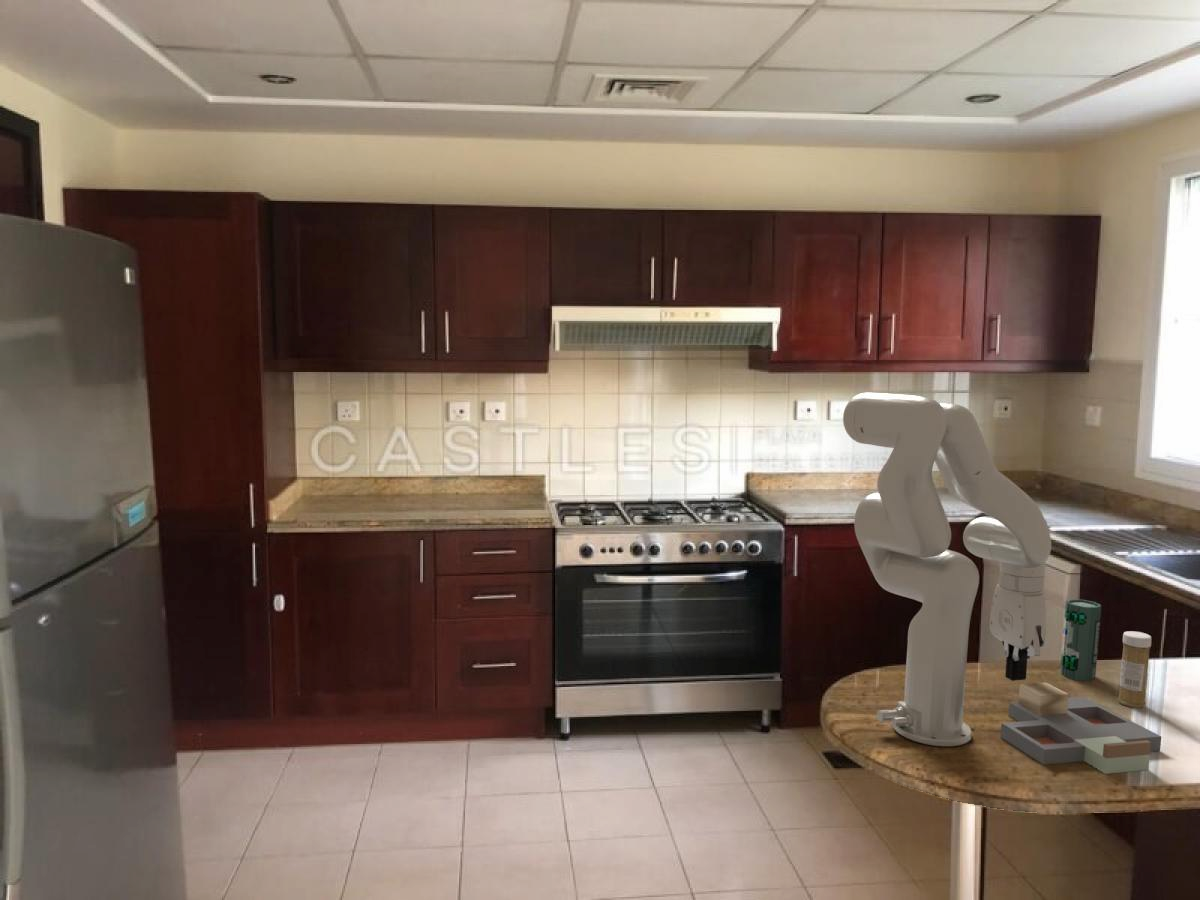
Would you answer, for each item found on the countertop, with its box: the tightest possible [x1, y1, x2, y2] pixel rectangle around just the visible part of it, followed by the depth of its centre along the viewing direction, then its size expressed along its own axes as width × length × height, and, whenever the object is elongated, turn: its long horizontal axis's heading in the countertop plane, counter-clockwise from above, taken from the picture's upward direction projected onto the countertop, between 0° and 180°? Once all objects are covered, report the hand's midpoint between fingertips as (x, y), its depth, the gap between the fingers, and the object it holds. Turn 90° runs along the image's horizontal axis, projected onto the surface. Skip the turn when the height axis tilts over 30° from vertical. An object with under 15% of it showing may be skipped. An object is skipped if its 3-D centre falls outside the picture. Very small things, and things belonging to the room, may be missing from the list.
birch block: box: [1017, 682, 1069, 715], centre depth 162 cm, size 6×6×4 cm
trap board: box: [1000, 696, 1162, 775], centre depth 155 cm, size 23×23×4 cm
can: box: [1059, 598, 1102, 682], centre depth 186 cm, size 6×6×15 cm
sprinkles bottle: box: [1117, 630, 1152, 709], centre depth 171 cm, size 5×5×13 cm
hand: (1015, 678), depth 170 cm, fingers closed
